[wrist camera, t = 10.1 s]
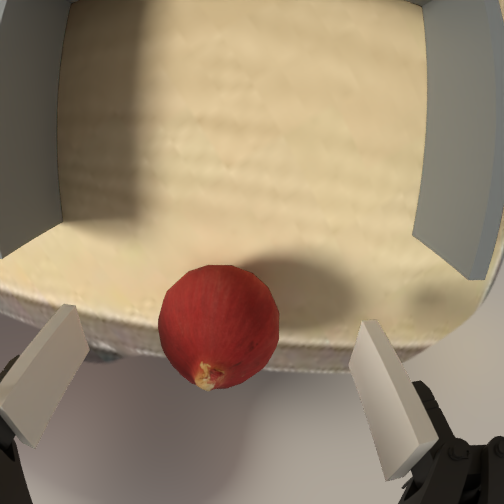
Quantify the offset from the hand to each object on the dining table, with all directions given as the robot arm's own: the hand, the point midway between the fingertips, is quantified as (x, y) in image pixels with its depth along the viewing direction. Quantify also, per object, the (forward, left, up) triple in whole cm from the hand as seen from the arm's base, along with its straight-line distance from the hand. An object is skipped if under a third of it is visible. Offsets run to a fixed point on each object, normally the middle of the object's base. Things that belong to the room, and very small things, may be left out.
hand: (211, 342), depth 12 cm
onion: (0, 0, -5) cm, 6 cm away
